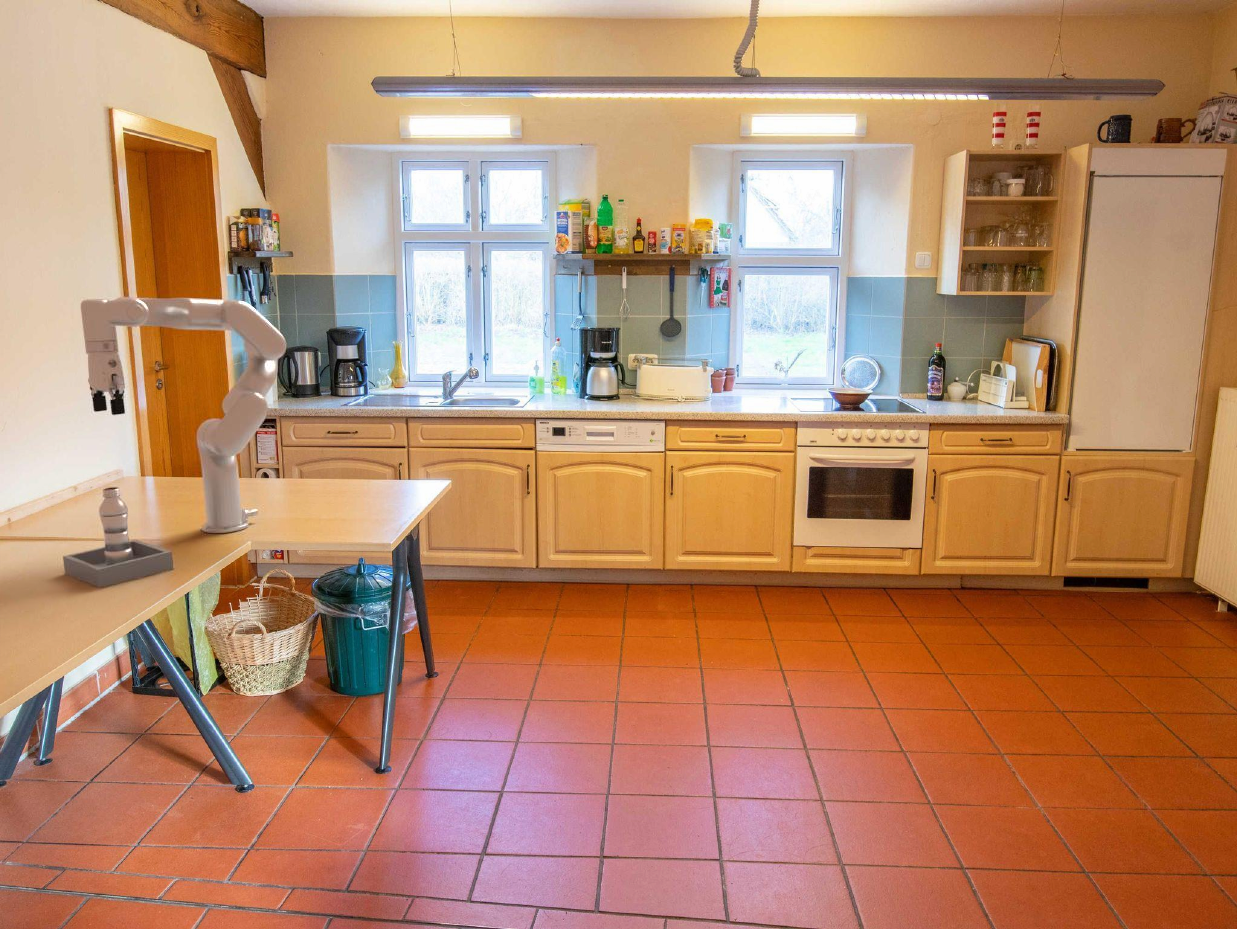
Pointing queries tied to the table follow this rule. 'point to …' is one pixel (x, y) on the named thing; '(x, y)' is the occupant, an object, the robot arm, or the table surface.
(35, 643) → the table surface
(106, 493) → the plastic bottle
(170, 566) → the bin
